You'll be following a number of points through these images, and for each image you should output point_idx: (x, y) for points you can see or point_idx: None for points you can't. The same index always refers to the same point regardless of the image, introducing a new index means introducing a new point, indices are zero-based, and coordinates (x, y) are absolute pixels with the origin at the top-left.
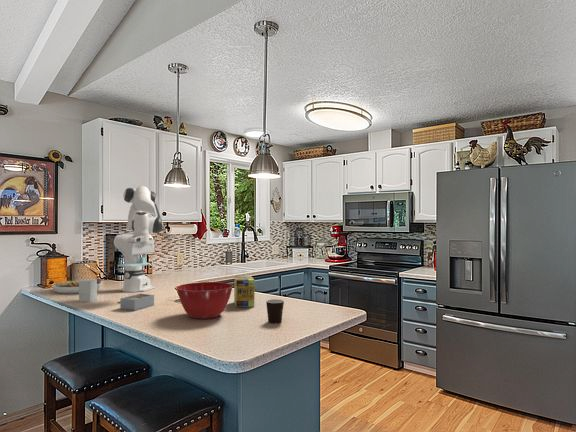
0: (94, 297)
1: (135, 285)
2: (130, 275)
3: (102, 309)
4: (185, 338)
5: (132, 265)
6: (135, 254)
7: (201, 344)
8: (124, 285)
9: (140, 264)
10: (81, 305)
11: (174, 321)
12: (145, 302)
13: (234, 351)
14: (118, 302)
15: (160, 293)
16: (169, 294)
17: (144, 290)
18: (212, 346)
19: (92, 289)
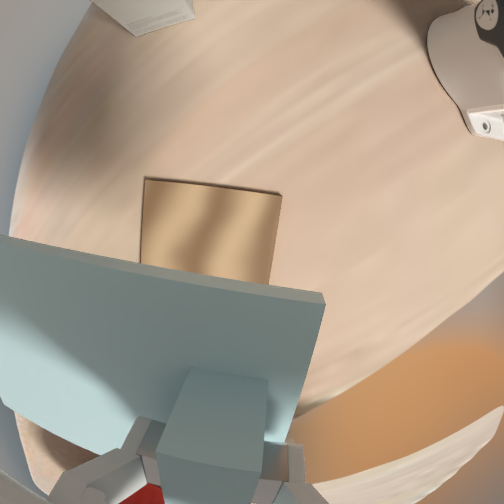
0: (165, 19)
1: (471, 83)
2: (494, 36)
3: (43, 213)
4: (39, 463)
5: (13, 406)
6: (51, 496)
7: (41, 474)
8: (451, 19)
9: (95, 452)
10: (73, 68)
11: (76, 451)
12: None
13: None
14: (145, 189)
15: (444, 256)
16: (423, 315)
17: (477, 135)
18: (46, 481)
19: (127, 5)
